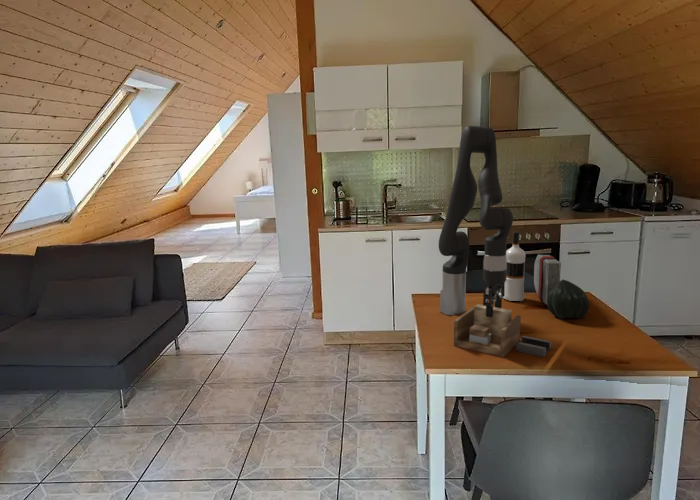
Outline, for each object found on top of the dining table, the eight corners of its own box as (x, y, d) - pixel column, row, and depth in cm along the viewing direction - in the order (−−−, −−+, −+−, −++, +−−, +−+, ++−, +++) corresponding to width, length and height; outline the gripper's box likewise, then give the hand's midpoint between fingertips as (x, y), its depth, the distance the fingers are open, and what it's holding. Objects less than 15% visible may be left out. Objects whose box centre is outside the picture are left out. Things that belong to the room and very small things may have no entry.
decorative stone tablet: (563, 261, 194) (548, 251, 224) (545, 260, 196) (533, 251, 225) (560, 308, 197) (546, 292, 226) (543, 307, 198) (531, 291, 227)
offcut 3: (468, 346, 162) (468, 340, 162) (473, 342, 165) (473, 336, 165) (485, 350, 158) (485, 344, 158) (490, 346, 162) (490, 340, 161)
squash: (594, 312, 178) (588, 275, 185) (550, 311, 182) (547, 275, 189) (586, 326, 190) (581, 291, 197) (545, 325, 194) (542, 291, 201)
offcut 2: (469, 340, 161) (469, 334, 161) (473, 336, 165) (473, 330, 164) (487, 344, 158) (487, 338, 158) (490, 340, 161) (491, 333, 161)
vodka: (500, 301, 210) (503, 233, 204) (504, 294, 218) (507, 229, 212) (522, 303, 206) (526, 234, 200) (525, 297, 214) (529, 230, 208)
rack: (453, 348, 163) (454, 320, 161) (472, 333, 176) (472, 306, 174) (503, 360, 154) (504, 330, 151) (519, 343, 166) (520, 315, 164)
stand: (515, 353, 158) (515, 343, 157) (522, 345, 164) (523, 335, 164) (543, 359, 153) (544, 349, 152) (550, 351, 159) (551, 341, 159)
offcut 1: (469, 334, 161) (469, 328, 161) (474, 330, 164) (474, 324, 163) (484, 337, 158) (484, 331, 157) (488, 334, 161) (489, 328, 160)
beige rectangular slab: (473, 336, 171) (474, 306, 168) (476, 333, 173) (477, 304, 171) (507, 343, 164) (508, 312, 161) (510, 340, 166) (511, 310, 164)
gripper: (491, 262, 171) (490, 306, 174) (476, 270, 159) (475, 317, 163) (512, 264, 166) (511, 309, 170) (498, 273, 155) (497, 321, 158)
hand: (493, 313), depth 166 cm, fingers open, 8 cm apart
